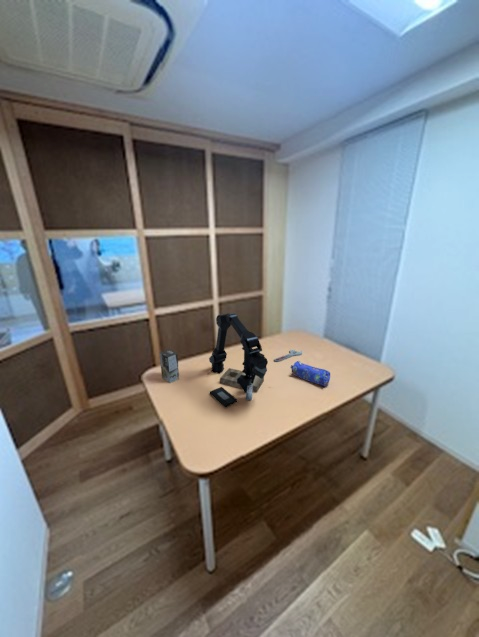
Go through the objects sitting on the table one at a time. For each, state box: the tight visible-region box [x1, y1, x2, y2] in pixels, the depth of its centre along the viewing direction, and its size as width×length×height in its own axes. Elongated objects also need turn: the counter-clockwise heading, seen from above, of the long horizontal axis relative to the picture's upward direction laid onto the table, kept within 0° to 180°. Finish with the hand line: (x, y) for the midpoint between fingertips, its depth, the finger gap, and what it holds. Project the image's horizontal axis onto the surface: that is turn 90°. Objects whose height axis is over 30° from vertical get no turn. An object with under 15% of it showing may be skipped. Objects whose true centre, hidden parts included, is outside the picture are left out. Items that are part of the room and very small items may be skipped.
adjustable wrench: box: [273, 349, 303, 363], centre depth 180 cm, size 8×26×2 cm, turn 121°
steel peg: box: [244, 384, 254, 402], centre depth 131 cm, size 4×4×8 cm
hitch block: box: [219, 367, 265, 393], centre depth 147 cm, size 22×12×4 cm, turn 67°
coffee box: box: [159, 349, 180, 384], centre depth 148 cm, size 9×6×16 cm
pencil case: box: [289, 360, 331, 387], centre depth 150 cm, size 22×9×10 cm, turn 51°
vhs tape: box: [209, 386, 238, 409], centre depth 133 cm, size 8×14×2 cm, turn 38°
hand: (248, 387), depth 131 cm, fingers open, 9 cm apart
